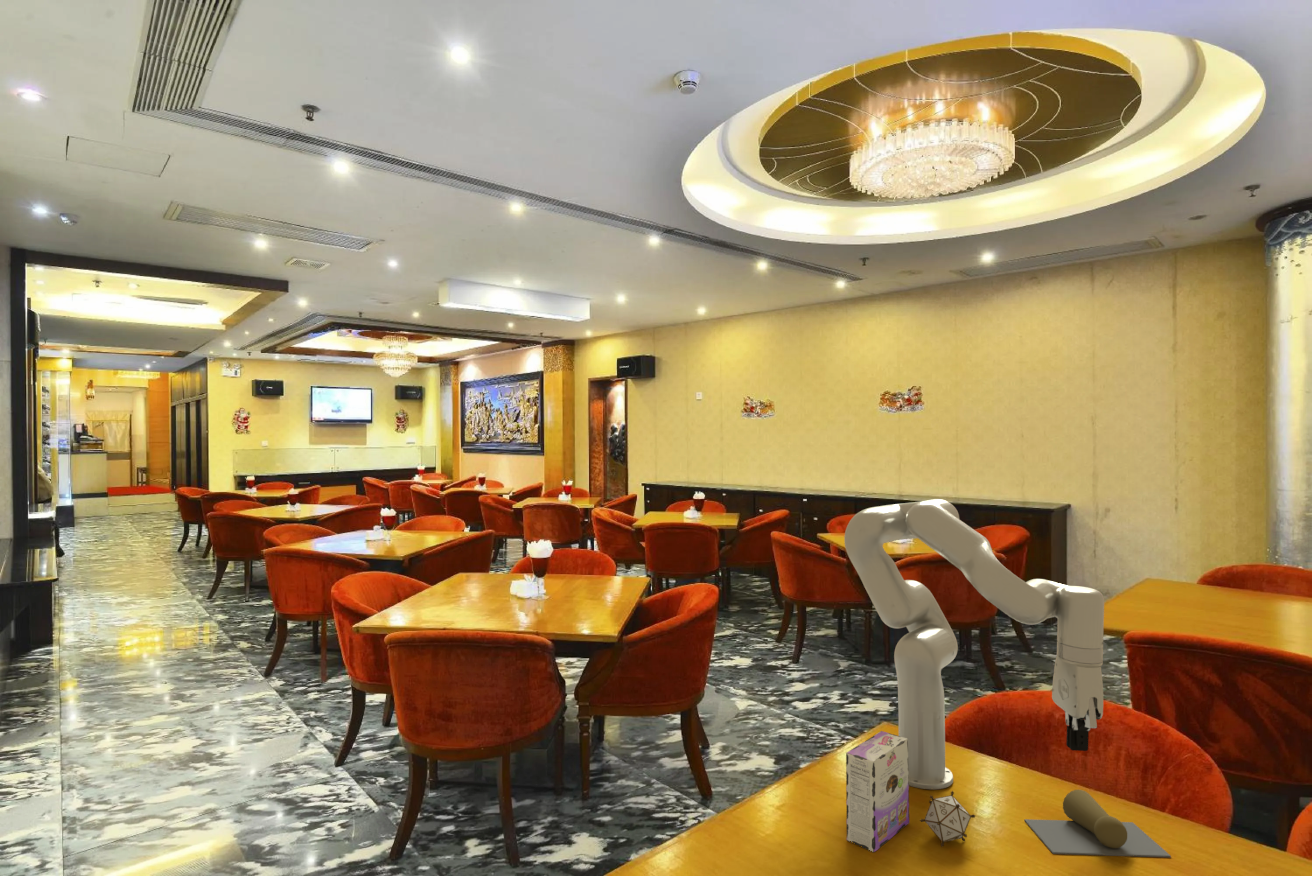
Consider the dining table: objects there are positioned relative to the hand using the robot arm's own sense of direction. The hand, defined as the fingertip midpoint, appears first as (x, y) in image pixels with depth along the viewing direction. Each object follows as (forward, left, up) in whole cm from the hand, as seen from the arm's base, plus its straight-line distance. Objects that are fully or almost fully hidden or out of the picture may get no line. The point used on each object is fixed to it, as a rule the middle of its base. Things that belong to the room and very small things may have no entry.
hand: (1077, 748), depth 134 cm
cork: (+1, +2, -12) cm, 12 cm away
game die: (-26, -6, -15) cm, 31 cm away
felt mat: (+1, -4, -15) cm, 15 cm away
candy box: (-38, -4, -15) cm, 41 cm away
